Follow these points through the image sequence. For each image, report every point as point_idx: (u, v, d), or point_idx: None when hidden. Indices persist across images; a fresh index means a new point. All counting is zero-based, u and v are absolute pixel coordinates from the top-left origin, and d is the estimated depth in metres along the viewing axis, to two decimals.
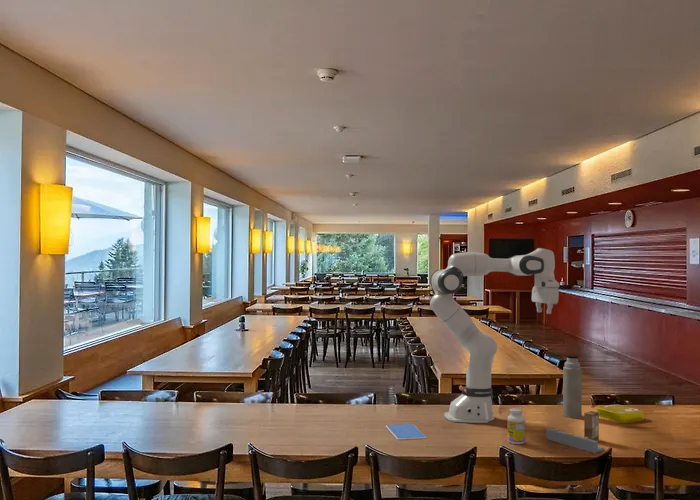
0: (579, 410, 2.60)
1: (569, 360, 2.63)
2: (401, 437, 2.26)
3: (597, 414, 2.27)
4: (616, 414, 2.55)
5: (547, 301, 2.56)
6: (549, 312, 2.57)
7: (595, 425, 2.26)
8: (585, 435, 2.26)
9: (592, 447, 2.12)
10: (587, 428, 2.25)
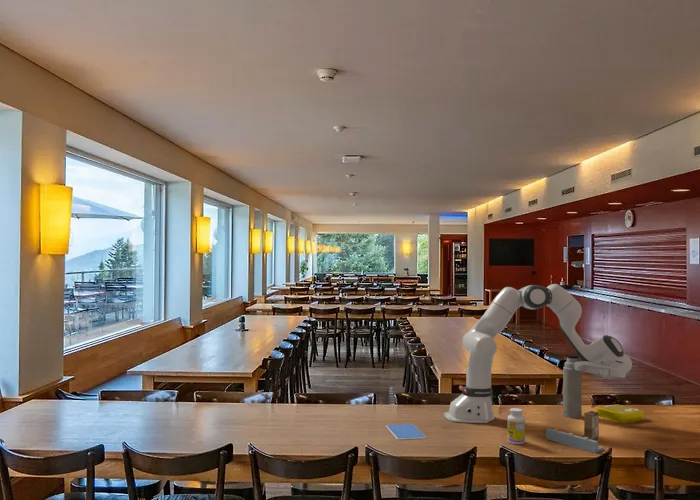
0: (579, 410, 2.60)
1: (569, 360, 2.63)
2: (401, 437, 2.26)
3: (597, 414, 2.27)
4: (616, 414, 2.55)
5: (611, 367, 2.37)
6: (601, 372, 2.35)
7: (595, 425, 2.26)
8: (585, 435, 2.26)
9: (592, 447, 2.12)
10: (587, 428, 2.25)
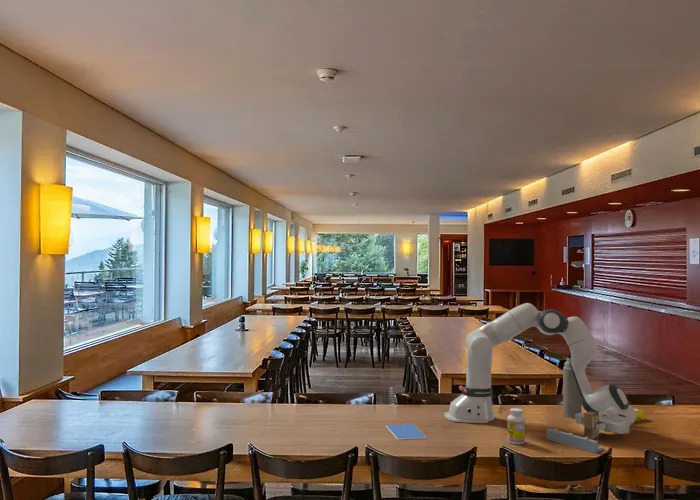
0: (579, 410, 2.60)
1: (569, 360, 2.63)
2: (401, 437, 2.26)
3: (597, 414, 2.27)
4: None
5: (614, 422, 2.24)
6: (598, 427, 2.24)
7: None
8: (585, 435, 2.26)
9: (592, 447, 2.12)
10: (587, 428, 2.25)
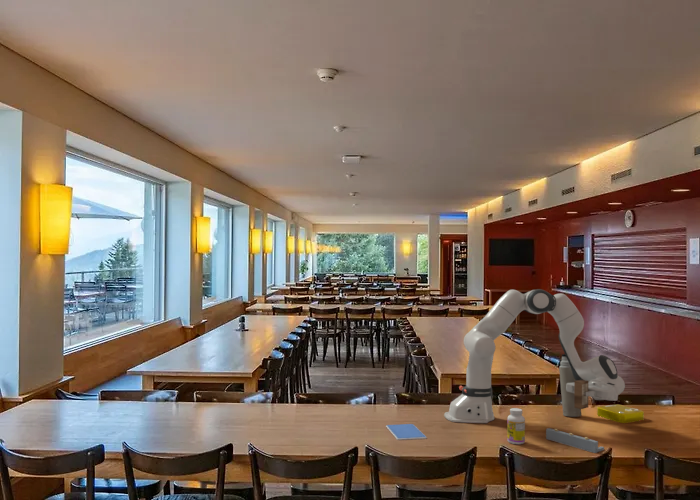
0: None
1: (564, 358, 2.65)
2: (401, 437, 2.26)
3: (587, 382, 2.36)
4: (616, 414, 2.55)
5: (603, 390, 2.33)
6: (587, 394, 2.34)
7: None
8: (575, 402, 2.35)
9: (592, 447, 2.12)
10: (577, 395, 2.35)
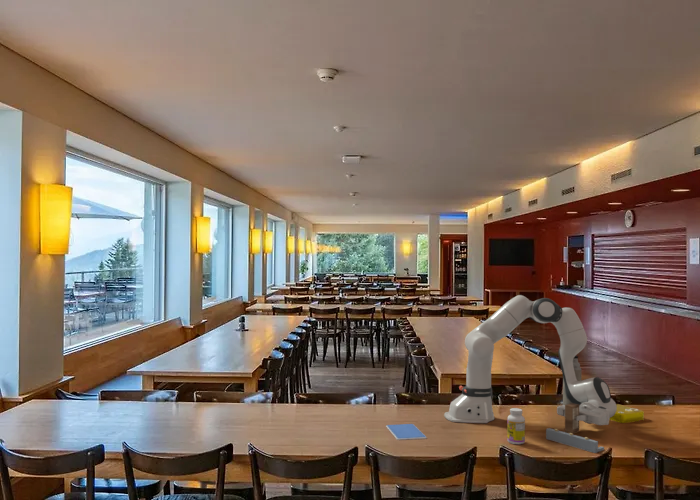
0: None
1: None
2: (401, 437, 2.26)
3: (578, 406, 2.32)
4: (616, 414, 2.55)
5: (594, 414, 2.29)
6: (578, 418, 2.30)
7: None
8: (566, 426, 2.31)
9: (592, 447, 2.12)
10: (568, 420, 2.31)
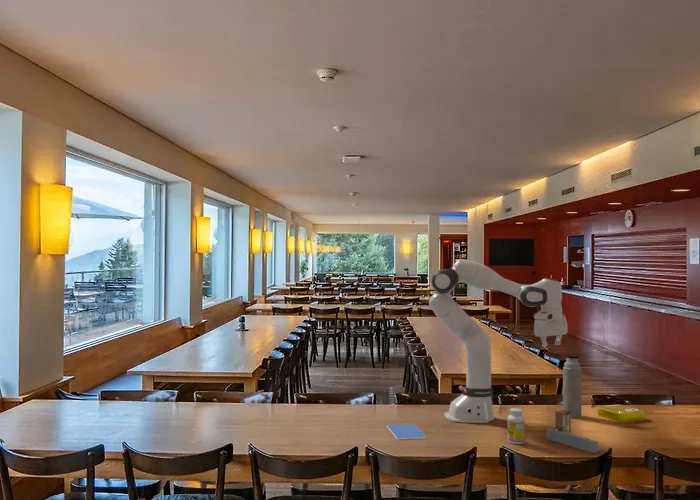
0: (579, 410, 2.60)
1: (569, 360, 2.63)
2: (401, 437, 2.26)
3: (569, 413, 2.28)
4: (616, 414, 2.55)
5: None
6: (543, 345, 2.50)
7: (566, 424, 2.27)
8: None
9: (592, 447, 2.12)
10: (558, 426, 2.27)
